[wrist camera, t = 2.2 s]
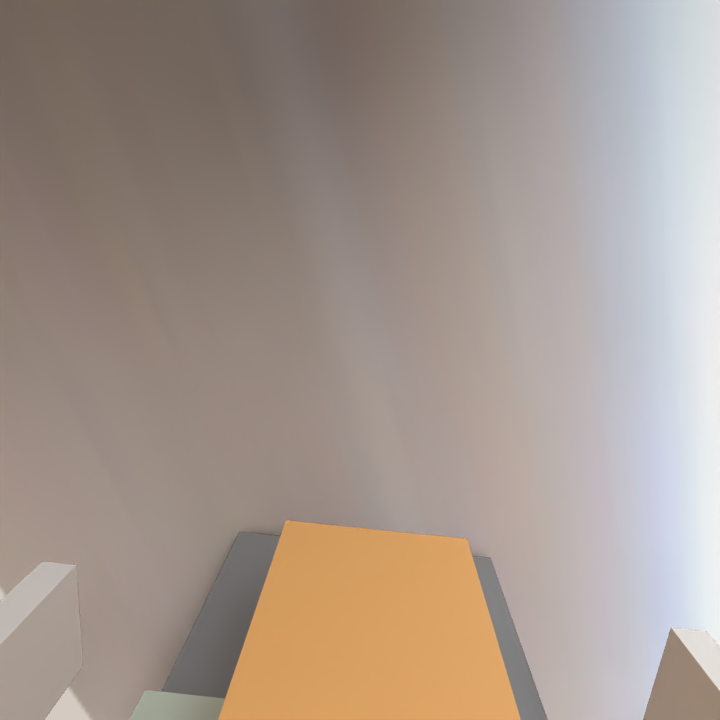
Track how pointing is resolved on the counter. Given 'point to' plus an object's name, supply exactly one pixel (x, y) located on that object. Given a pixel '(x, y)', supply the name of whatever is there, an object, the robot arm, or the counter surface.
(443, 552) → the lid
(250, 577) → the tub
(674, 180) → the counter surface
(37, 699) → the robot arm
